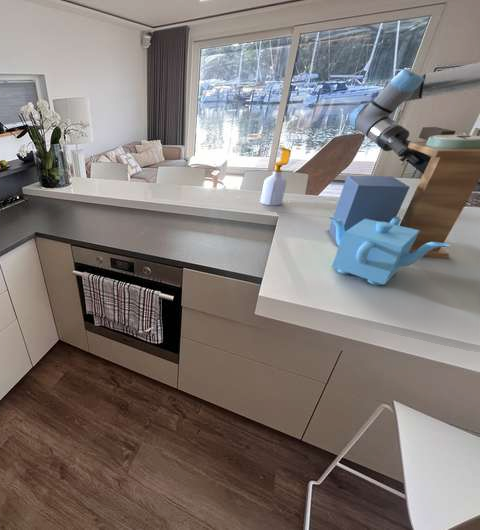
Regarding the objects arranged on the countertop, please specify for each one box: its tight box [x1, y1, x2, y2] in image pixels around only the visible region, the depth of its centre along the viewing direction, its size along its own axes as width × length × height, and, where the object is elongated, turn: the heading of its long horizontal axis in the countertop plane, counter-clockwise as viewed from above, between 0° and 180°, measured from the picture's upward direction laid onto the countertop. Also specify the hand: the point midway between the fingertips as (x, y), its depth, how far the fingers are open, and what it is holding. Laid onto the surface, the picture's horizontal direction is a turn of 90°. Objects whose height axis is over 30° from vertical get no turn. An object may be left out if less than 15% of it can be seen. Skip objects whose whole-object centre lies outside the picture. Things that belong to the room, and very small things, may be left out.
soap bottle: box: [259, 146, 291, 207], centre depth 128 cm, size 9×9×25 cm
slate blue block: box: [328, 175, 411, 247], centre depth 92 cm, size 12×12×20 cm
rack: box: [398, 141, 480, 259], centre depth 85 cm, size 16×14×30 cm
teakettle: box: [328, 216, 451, 286], centre depth 77 cm, size 19×19×15 cm
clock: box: [418, 126, 480, 149], centre depth 81 cm, size 22×11×3 cm, turn 159°
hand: (440, 174), depth 86 cm, fingers open, 13 cm apart
